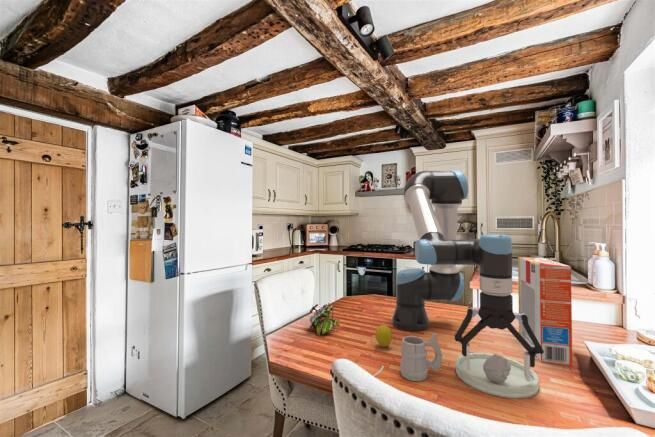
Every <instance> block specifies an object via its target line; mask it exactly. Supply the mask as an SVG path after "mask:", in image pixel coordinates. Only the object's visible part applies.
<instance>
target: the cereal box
mask: <svg viewBox="0 0 655 437" xmlns="http://www.w3.org/2000/svg"><path fill="white" fill-rule="evenodd" d="M517 267H518V268H517V270H518V271H517V273H518V274H517V277H518V278H517V279H518V280H517V282H518V283H517V284H518V288H517V289H518V314H520V313H522V312H523V313H525V314H526V316H527V317H528V324H529V326H530V328H531V329H532V331H533V333H534V335H535V337H536V338H537V340H538V342H539V344H540V345H541V347H542V349H543V351H544V353H543V354H540V353H539V354H536V356H535V358H537V360H539V362H540V363H544V364H545V363H547V364H553V365H554V364H555V365H561V366H563V365H564V366H570V367H572V366H573V326H572V325H573V321H572V320H573V318H572V317H573V316H572V314H573V312H572V311H573V310H572V308H573V306H572V304H573V303H572V266H571V265H568V264H564V263H560V262H558V261H554V260H551V259H548V258H544V257H532V256H531V257H527V256H523V257H522V256H517ZM518 332H519V333H520V335H521V336H522V337H523V338H524V339H525V340H526V341H527V342H528V344H529V345H530V346H531V347H535V346H534V344H533V342H532V340H531V339H530V337H529V335H528V333H527V331H526V330H525V328H524V326H523V324H522V323H520V322H519V321H518Z"/></svg>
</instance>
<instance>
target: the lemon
mask: <svg viewBox="0 0 655 437" xmlns="http://www.w3.org/2000/svg"><path fill="white" fill-rule="evenodd" d="M375 340H376V342H377V344H378V345H379V346H380V347H382V348H383V349H385V348H386V347H388V346H389V345H390V344H391V343H392V340H393V334H392V330H391V328H390V327H389V326H388V325H386V324H384V323H383V324H381V325H378V327H377V328H376V332H375Z"/></svg>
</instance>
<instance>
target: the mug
mask: <svg viewBox="0 0 655 437" xmlns="http://www.w3.org/2000/svg"><path fill="white" fill-rule="evenodd" d="M437 338H438V337H437V333H436V332H433V333H432V335H431V337H430V338H429V341H428V340H425V339H424V338H422V337H420V336H414V335H407V336H404V337H402V339H401V348H400V353H401V362H400V366H399V370H400V374H401V376H402V377H403V378H404V379H407V380H408V381H411V382H412V381H413V382H422V381H425V380H426V379H427V378H428V373H429V369H428V367H430V368H432V369H433V370H434V371H435V372H437V373H438V372H439V369H440V368H441V366H442V364H443V361H442V360H443V353H442V350H441V348H440V345H439V342H438V339H437ZM426 347H431V348H432V349H433V350H434V358H433V360H430V359H427V354H428V351H427V350H426Z"/></svg>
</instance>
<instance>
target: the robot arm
mask: <svg viewBox="0 0 655 437" xmlns="http://www.w3.org/2000/svg"><path fill="white" fill-rule="evenodd" d="M468 194H469V183H468V178H467V176H466V174H465V173H464V172H463V171H461V170H454V169H447V170H444V169H443V170H422V171H418V172H416V173H414V174H413V175H412V176H411V177H410V178H409V179H408V180H407V181H406V183H405V185H404V188H403V196H404V200H405V202H406V203H407V204H408V205H409V209H410V212H411V217H412V219H413V223H414V227H415V230H416V234H417V236H418V240H416V241H415V244H414V254H415V255H414V256H415V260H416V262H417V263H418V264H420V265H430V266H429V270H428V271H425V269H423V268H406V269H401V270H400V271H398V272H397V273H396V275H395V276H396V277H395V278H396V279H395V287H396V291H395V292H396V293H395V294H396V295H395V298H396V299H395V300H396V304H395V305H396V306H395V308H394V311H393V315H392V319H391V323H392V325H393V327H395V328H398V329H400V330H403V331H412V332H418V331H419V332H420V331H424V330H428V329H429V328H430V318H429V316H428V313H427V310H426V306H425V305H426V304H425V302H426V301H434V302H436V301H439V302H455V301H459V300H460V299H461V298H462V296H463V294H464V291H465V277H464V275H463V273H462V272H460V269H459V268H458V267H457V266H456V265H459V266H460V265H462V266H466V265H467V266H470V265H471V266H478V267H479V290H480V293H479V308H478V309H476V308H472V307H471V306H468V307H467V310H466V316H465V317H464V318H463V320H462V322H461V324H460V326H459V327H458V329H457V330H456V332H455V334H454V341H455V342H458V343H459V344H461V355H463V356H466V359H467V370H470V353H471V348H470V342H471V341H472V340H473V339H474V338H475V337H476V336H477V335H478V334H479V333H480V332H481V331H482V330H484V329H485V328H486V327H488V328H490V329H497V330H500V331H501V330H502V331H504V330H506V329H507V330H508V331H509V332H510V333H511V334H512V335H513V336H514V338H516V340H517V341H518V342H519V343H520V344H521V346H523V348H524V349H525V350H523V354H524V355H523V360H524V362H523V364H524V376H525V378H526V381H530V369H531V368H535V366H536V354H539V353H540V354H543V353H544V351H543V349H542V347H541V345H540V344H539V342H538V340H537V338H536V337H535V335H534V333H533V331H532V329H531V328H530V326H529V324H528V317H527V316H526V314H525V313H523V312H522V313H520V314H519V313H514V310H513V308H514V307H513V305H514V304H513V303H514V302H513V295H512V293H513V250H514V249H513V247H512V237H511V236H509V235H508V234H500V233H499V234H498V233H497V234H494V233H492V234H491V233H490V234H489V233H487V234H485V233H483V234H481V235H480V236H479V238H469V239H457V233H458V231H457V230H458V209H459V208H460V206H462V204H463V200H465V199H467V197H468ZM477 315H478V316H479V318H480V320H479V321H478V322H477V323H476V324H475V325H474V326H473V327H472V328H471V329H470V330H469V331H468V332H467V333H466V334H465V335H464V333H465V331H466V330H467V328H468V326H469V325H470V323H471V321H472V318H475V317H476V316H477ZM515 320H517V322H518V323H519V322H520V323H522V324H523V326H524V328H525V330H526V331H527V333H528V335H529V337H530V339H531V340H532V342H533V344H534V346H535V347H531V346H530V345H529V344H528V342H527V341H526V340H525V339H524V338H523V337H522V336H521V335H520V333H519V330H517V329H516V328H515V327H514V325H513V324H512V323H513V322H514V321H515Z"/></svg>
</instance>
